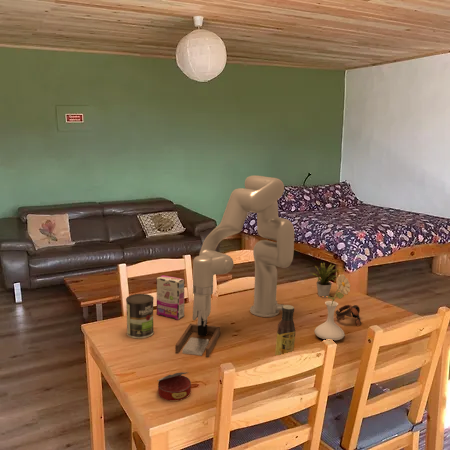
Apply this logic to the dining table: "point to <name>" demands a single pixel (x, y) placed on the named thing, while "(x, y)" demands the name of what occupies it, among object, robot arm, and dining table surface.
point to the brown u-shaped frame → (194, 328)
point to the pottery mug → (349, 312)
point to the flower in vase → (330, 327)
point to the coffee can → (139, 316)
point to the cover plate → (195, 346)
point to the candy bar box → (170, 297)
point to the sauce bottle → (285, 331)
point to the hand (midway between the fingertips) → (202, 334)
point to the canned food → (174, 387)
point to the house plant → (325, 280)
